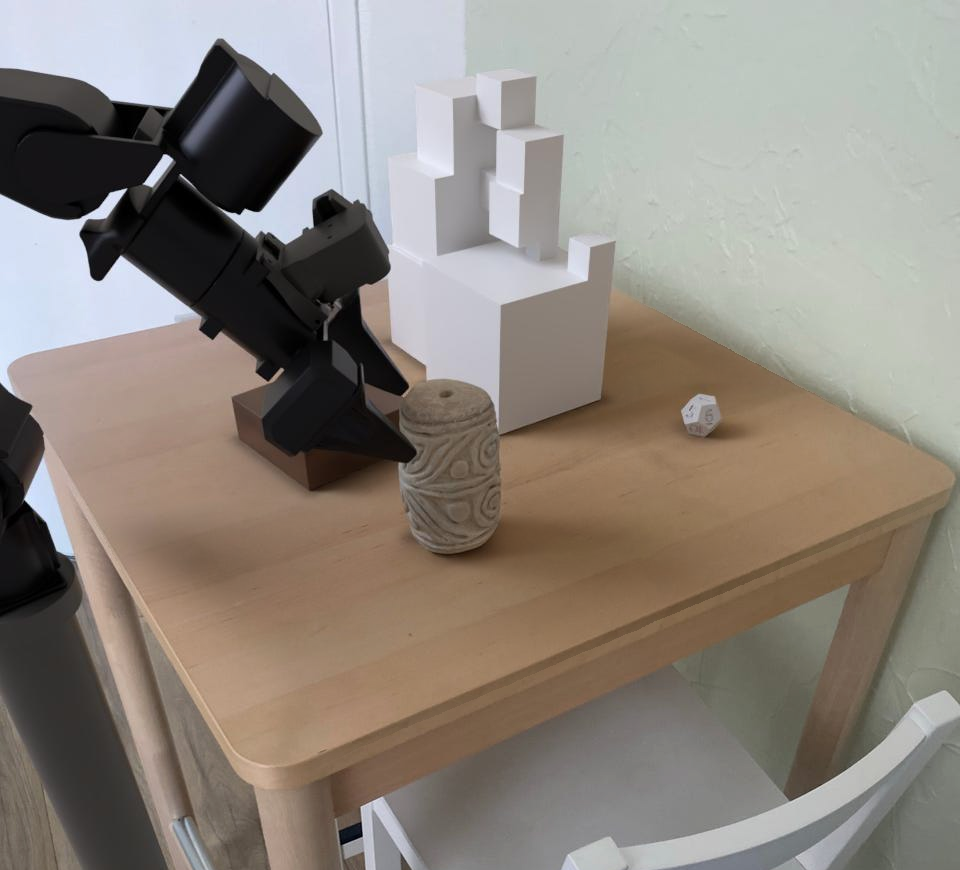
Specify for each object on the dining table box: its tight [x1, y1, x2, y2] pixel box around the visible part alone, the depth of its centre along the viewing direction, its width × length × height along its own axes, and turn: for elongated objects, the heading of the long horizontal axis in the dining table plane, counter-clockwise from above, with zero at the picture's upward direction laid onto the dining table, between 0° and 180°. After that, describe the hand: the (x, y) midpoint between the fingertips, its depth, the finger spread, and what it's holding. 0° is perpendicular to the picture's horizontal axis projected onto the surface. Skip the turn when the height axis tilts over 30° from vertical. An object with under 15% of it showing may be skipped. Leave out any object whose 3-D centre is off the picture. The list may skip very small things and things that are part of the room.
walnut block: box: [231, 381, 405, 491], centre depth 82 cm, size 11×11×4 cm
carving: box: [397, 379, 502, 555], centre depth 69 cm, size 6×8×12 cm
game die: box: [680, 393, 723, 438], centre depth 84 cm, size 4×4×3 cm
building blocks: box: [386, 67, 617, 436], centre depth 85 cm, size 22×12×25 cm, turn 35°
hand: (408, 422), depth 66 cm, fingers open, 9 cm apart
